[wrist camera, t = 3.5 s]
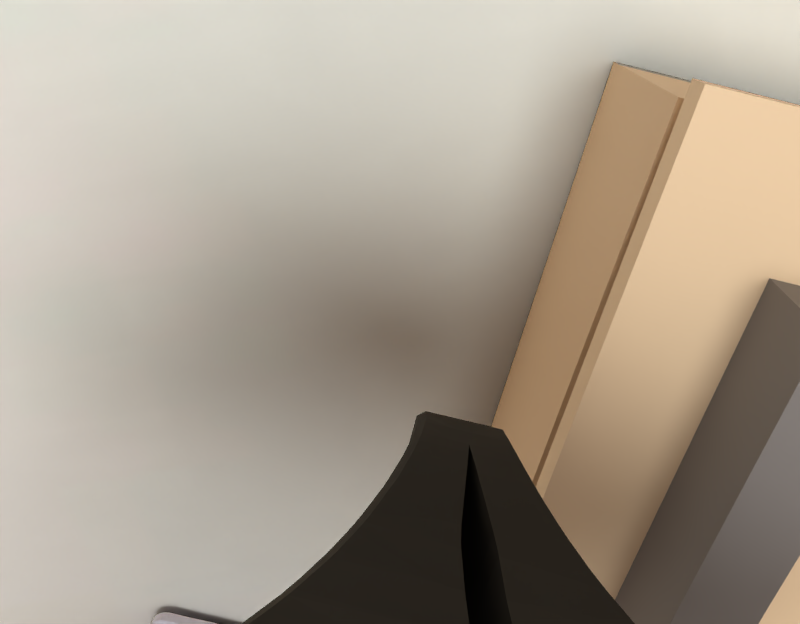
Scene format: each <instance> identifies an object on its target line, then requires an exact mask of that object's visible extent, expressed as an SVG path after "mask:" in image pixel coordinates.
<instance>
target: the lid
mask: <svg viewBox="0 0 800 624" xmlns="http://www.w3.org/2000/svg"><path fill="white" fill-rule="evenodd" d="M536 489H537V490H538V492H539V494H540V495H541V497H542V499H543V501H544V502H545V504H546V505H547V507H548V508H549V510H550V512H551V513H552V515H553V516H554V518H555V520H556V521H557V523H558V524H559V526H560V527H561V529H562V530H563V532H564V533H565V535H566V536H567V538H568V539H569V541H570V542H571V543H572V545H573V546H574V548H575V549H576V550H577V552H578V553H579V555H580V556H581V557H582V559H583V560H584V561H585V563H586V564H587V566H588V567H589V568H590V570H591V571H592V572H593V574H594V575H595V576H596V578H597V579H598V580H599V581H600V583H601V584H602V585H603V586H604V588H605V589H606V590H607V591H608V593H609V594H610V595H611V596H612V597H613V599H614V600H615V601H616V602H617V603H618V604H619V606H620V607H621V608H622V609H623V610H624V611H625V613H626V614H627V615H628V616H629V617H630V618H631V620H632V621H633V622H634V623H635V624H800V105H797V104H793V103H789V102H785V101H781V100H777V99H773V98H769V97H765V96H761V95H757V94H753V93H749V92H745V91H741V90H737V89H733V88H729V87H725V86H721V85H717V84H713V83H709V82H705V81H701V80H697V79H693V78H692V80H691V83H690V85H689V88H688V91H687V93H686V96H685V99H684V101H683V104H682V106H681V109H680V112H679V114H678V117H677V119H676V122H675V125H674V127H673V130H672V132H671V135H670V138H669V140H668V143H667V146H666V148H665V151H664V153H663V156H662V159H661V161H660V164H659V166H658V169H657V172H656V174H655V177H654V179H653V182H652V185H651V187H650V190H649V192H648V195H647V198H646V200H645V203H644V206H643V208H642V211H641V213H640V216H639V219H638V221H637V224H636V226H635V229H634V232H633V234H632V237H631V239H630V242H629V245H628V247H627V250H626V253H625V255H624V258H623V260H622V263H621V266H620V268H619V271H618V273H617V276H616V279H615V281H614V284H613V286H612V289H611V292H610V294H609V297H608V299H607V302H606V305H605V307H604V310H603V313H602V315H601V318H600V320H599V323H598V326H597V328H596V331H595V333H594V336H593V339H592V341H591V344H590V346H589V349H588V352H587V354H586V357H585V360H584V362H583V365H582V367H581V370H580V373H579V375H578V378H577V380H576V383H575V386H574V388H573V391H572V393H571V396H570V399H569V401H568V404H567V407H566V409H565V412H564V414H563V417H562V420H561V422H560V425H559V427H558V430H557V433H556V435H555V438H554V440H553V443H552V446H551V448H550V451H549V453H548V456H547V459H546V461H545V464H544V467H543V469H542V472H541V474H540V477H539V480H538V482H537V485H536Z"/></svg>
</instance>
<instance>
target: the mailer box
mask: <svg viewBox="0 0 800 624" xmlns="http://www.w3.org/2000/svg"><path fill="white" fill-rule="evenodd" d="M690 83H691V81H689V80H685V79H681V78H677V77H673V76H669V75H665V74H661V73H657V72H653V71H649V70H645V69H641V68H637V67H633V66H629V65H625V64H621V63H617V62H613V65H612V68H611V71H610V74H609V77H608V80H607V83H606V86H605V89H604V92H603V95H602V98H601V101H600V104H599V107H598V110H597V113H596V116H595V119H594V122H593V125H592V128H591V131H590V134H589V137H588V140H587V143H586V146H585V149H584V152H583V155H582V158H581V161H580V164H579V167H578V170H577V173H576V176H575V179H574V182H573V185H572V187H571V190H570V193H569V196H568V199H567V202H566V205H565V208H564V211H563V214H562V217H561V220H560V223H559V226H558V229H557V232H556V235H555V238H554V241H553V244H552V247H551V250H550V253H549V256H548V259H547V262H546V265H545V268H544V271H543V274H542V277H541V280H540V283H539V286H538V289H537V292H536V295H535V298H534V301H533V304H532V307H531V310H530V313H529V315H528V318H527V321H526V324H525V327H524V330H523V333H522V336H521V339H520V342H519V345H518V348H517V351H516V354H515V357H514V360H513V363H512V366H511V369H510V372H509V375H508V378H507V381H506V384H505V387H504V390H503V393H502V396H501V399H500V402H499V405H498V408H497V411H496V414H495V417H494V420H493V423H492V426H491V427H494V428H498V429H502V430H503V431H504V432H505V434H506V436H507V438H508V439H509V441H510V443H511V444H512V446H513V448H514V450H515V452H516V453H517V455H518V457H519V459H520V461H521V462H522V464H523V466H524V468H525V470H526V471H527V473H528V475H529V477H530V478H531V480H532V482H533V484H534V485H535V487H536V485H537V482H538V480H539V477H540V474H541V472H542V469H543V467H544V464H545V461H546V459H547V456H548V453H549V451H550V448H551V446H552V443H553V440H554V438H555V435H556V433H557V430H558V427H559V425H560V422H561V420H562V417H563V414H564V412H565V409H566V407H567V404H568V401H569V399H570V396H571V393H572V391H573V388H574V386H575V383H576V380H577V378H578V375H579V373H580V370H581V367H582V365H583V362H584V360H585V357H586V354H587V352H588V349H589V346H590V344H591V341H592V339H593V336H594V333H595V331H596V328H597V326H598V323H599V320H600V318H601V315H602V313H603V310H604V307H605V305H606V302H607V299H608V297H609V294H610V292H611V289H612V286H613V284H614V281H615V279H616V276H617V273H618V271H619V268H620V266H621V263H622V260H623V258H624V255H625V253H626V250H627V247H628V245H629V242H630V239H631V237H632V234H633V232H634V229H635V226H636V224H637V221H638V219H639V216H640V213H641V211H642V208H643V206H644V203H645V200H646V198H647V195H648V192H649V190H650V187H651V185H652V182H653V179H654V177H655V174H656V172H657V169H658V166H659V164H660V161H661V159H662V156H663V153H664V151H665V148H666V146H667V143H668V140H669V138H670V135H671V132H672V130H673V127H674V125H675V122H676V119H677V117H678V114H679V112H680V109H681V106H682V104H683V101H684V99H685V96H686V93H687V91H688V88H689V85H690Z"/></svg>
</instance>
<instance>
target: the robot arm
mask: <svg viewBox="0 0 800 624" xmlns="http://www.w3.org/2000/svg"><path fill="white" fill-rule="evenodd" d="M151 624H217V623H213V622H208V621H204V620H200V619H195V618H191V617H187V616H182V615H178V614H174V613H168V612H163V613H159V614H157V615H156V616H154V618H153V620H152V622H151ZM242 624H635V623H634V622H633V621H632V620H631V618H630V617H629V616H628V615H627V614H626V613H625V611H624V610H623V609H622V608H621V607H620V606H619V604H618V603H617V602H616V601H615V600H614V599H613V597H612V596H611V595H610V594H609V593H608V591H607V590H606V589H605V588H604V586H603V585H602V584H601V583H600V581H599V580H598V579H597V578H596V576H595V575H594V574H593V572H592V571H591V570H590V568H589V567H588V566H587V564H586V563H585V561H584V560H583V559H582V557H581V556H580V555H579V553H578V552H577V550H576V549H575V548H574V546H573V545H572V543H571V542H570V541H569V539H568V538H567V536H566V535H565V533H564V532H563V530H562V529H561V527H560V526H559V524H558V523H557V521H556V520H555V518H554V516H553V515H552V513H551V512H550V510H549V508H548V507H547V505H546V504H545V502H544V501H543V499H542V497H541V495H540V494H539V492H538V490H537V489H536V487H535V485H534V484H533V482H532V480H531V478H530V477H529V475H528V473H527V471H526V470H525V468H524V466H523V464H522V462H521V461H520V459H519V457H518V455H517V453H516V452H515V450H514V448H513V446H512V444H511V443H510V441H509V439H508V438H507V436H506V434H505V432H504V431H503V430H502V429H498V428H494V427H490V426H485V425H481V424H477V423H473V422H469V421H464V420H460V419H456V418H452V417H448V416H443V415H439V414H435V413H431V412H424V413H422V414H420V415H418V416H417V417H416V421H415V425H414V428H413V432H412V435H411V439H410V443H409V445H408V447H407V449H406V451H405V453H404V455H403V457H402V458H401V460H400V462H399V463H398V465H397V466H396V468H395V470H394V471H393V473H392V474H391V476H390V478H389V479H388V481H387V482H386V484H385V485H384V487H383V488H382V489H381V491H380V492H379V493H378V495H377V496H376V497H375V499H374V500H373V501H372V502H371V504H370V505H369V506H368V508H367V509H366V510H365V512H364V513H363V514H362V515H361V517H360V518H359V519H358V520H357V521H356V523H355V524H354V525H353V526H352V527H351V528H350V529H349V531H348V532H347V533H346V534H345V535H344V536H343V537H342V538H341V539H340V540H339V541H338V542H337V543H336V544H335V545H334V547H333V548H332V549H331V550H330V551H329V552H328V553H327V554H326V555H325V556H324V557H322V558H321V559H320V560H319V561H318V562H317V563H316V564H315V565H314V566H313V567H312V568H311V569H310V570H308V571H307V572H306V573H305V574H304V575H303V576H302V577H301V578H300V579H299V580H297V581H296V582H295V583H294V584H293V585H292V586H290V587H289V588H288V589H287V590H286V591H284V592H283V593H282V594H281V595H280V596H278V597H277V598H276V599H274V600H273V601H271V602H270V603H269V604H267V605H266V606H265V607H263V608H262V609H261V610H259V611H258V612H257V613H255V614H254V615H253V616H251V617H250V618H249V619H247V620H246V621H245V622H243V623H242Z"/></svg>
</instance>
